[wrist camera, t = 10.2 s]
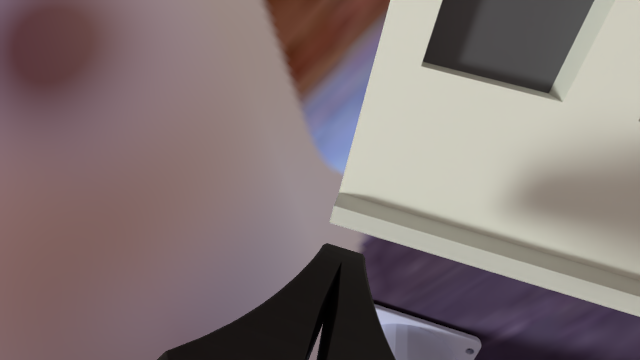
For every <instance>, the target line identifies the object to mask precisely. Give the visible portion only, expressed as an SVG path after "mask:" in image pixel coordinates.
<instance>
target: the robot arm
mask: <svg viewBox="0 0 640 360" xmlns="http://www.w3.org/2000/svg"><path fill="white" fill-rule="evenodd" d="M322 324H323V326H322ZM321 327H322V332H321V338H320V344H319V350H318V355H317V360H474V359H475V357H476V355H477V354H478V352H479V350H480V349H481V342H480V339H479V338H477V337H475V336H472V335H469V334H466V333H463V332H460V331H457V330H454V329H451V328H447V327H444V326H441V325H438V324H435V323H432V322H429V321H426V320H423V319H420V318H416V317H413V316H410V315H407V314H404V313H401V312H398V311H395V310H392V309H388V308H385V307H382V306H379V305H376V304H374V302H373V299H372V295H371V291H370V287H369V283H368V278H367V273H366V266H365V257H364V255H363V254H360V253H357V252H354V251H351V250H347V249H344V248H340V247H338V246H334V245H331V244H328V243H327V244H324V245H323V246H322V248H321V249H320V251H319V252H318V253H317V255H316V256H315V257H314V258H313V259H312V261H311V262H310V263H309V264H308V265H307V266H306V267H305V268H304V269H303V270H302V271H301V272H300V273H299V274H298V275H297V276H296V277H295V278H294V279H293V280H292V281H290V282H289V283H288V284H287V285H286V286H285V287H284V288H282V289H281V290H280V291H279V292H278V293H276V294H275V295H274V296H272V297H271V298H270V299H268V300H267V301H265V302H264V303H263V304H261V305H260V306H258V307H257V308H255V309H254V310H252V311H250V312H249V313H247V314H245V315H244V316H242V317H241V318H239V319H237V320H235V321H233V322H232V323H230V324H228V325H226V326H224V327H222V328H220V329H218V330H216V331H214V332H212V333H210V334H208V335H205V336H203V337H201V338H199V339H196V340H194V341H191V342H189V343H186V344H183V345H181V346H178V347H176V348H173V349H171V350H168V351H166V352H165V353H163V354H162V355H161V356H160V357H159V358H158V359H157V360H309V357H310V355H311V352H312V350H313V347H314V345H315V342H316V339H317V337H318V334H319V332H320V329H321ZM469 348H470V350H469Z"/></svg>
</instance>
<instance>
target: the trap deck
mask: <svg viewBox="0 0 640 360" xmlns="http://www.w3.org/2000/svg"><path fill="white" fill-rule="evenodd" d="M330 223H332V224H336V225H339V226H342V227H345V228H349V229H352V230H355V231H359V232H362V233H365V234H369V235H372V236H375V237H378V238H382V239H385V240H388V241H392V242H395V243H398V244H402V245H405V246H408V247H411V248H415V249H418V250H421V251H425V252H428V253H431V254H435V255H438V256H441V257H444V258H448V259H451V260H454V261H458V262H461V263H464V264H468V265H471V266H474V267H477V268H481V269H484V270H487V271H491V272H494V273H497V274H501V275H504V276H507V277H511V278H514V279H517V280H520V281H524V282H527V283H530V284H534V285H537V286H540V287H544V288H547V289H550V290H553V291H557V292H560V293H563V294H567V295H570V296H573V297H577V298H580V299H583V300H586V301H590V302H593V303H596V304H600V305H603V306H606V307H610V308H613V309H616V310H619V311H623V312H626V313H629V314H633V315H636V316H639V317H640V0H391V1H390V4H389V8H388V12H387V16H386V19H385V23H384V27H383V31H382V34H381V38H380V42H379V45H378V49H377V53H376V57H375V60H374V64H373V68H372V72H371V75H370V79H369V83H368V86H367V90H366V94H365V98H364V101H363V105H362V109H361V113H360V116H359V120H358V124H357V128H356V131H355V135H354V139H353V142H352V146H351V150H350V154H349V157H348V161H347V165H346V169H345V172H344V176H343V180H342V183H341V187H340V191H339V194H338V197H337V199H336V202H335V204H334V208H333V211H332V215H331V219H330Z"/></svg>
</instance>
